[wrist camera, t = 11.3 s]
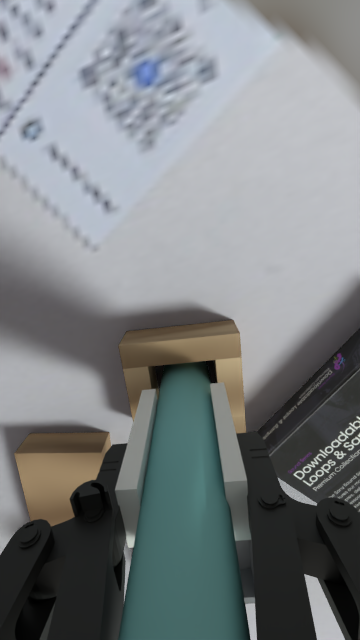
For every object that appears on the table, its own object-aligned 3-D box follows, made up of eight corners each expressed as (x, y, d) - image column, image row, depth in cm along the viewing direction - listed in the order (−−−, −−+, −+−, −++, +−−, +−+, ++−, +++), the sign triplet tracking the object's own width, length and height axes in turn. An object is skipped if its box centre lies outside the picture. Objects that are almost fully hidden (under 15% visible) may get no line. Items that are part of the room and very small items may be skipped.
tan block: (32, 429, 23) (14, 453, 20) (110, 428, 22) (101, 452, 20) (53, 527, 26) (39, 558, 23) (122, 527, 25) (115, 558, 23)
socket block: (126, 331, 20) (118, 345, 17) (233, 320, 19) (239, 333, 17) (143, 421, 22) (137, 445, 19) (239, 412, 21) (246, 436, 19)
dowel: (159, 354, 20) (72, 766, 5) (207, 350, 20) (274, 763, 5) (166, 396, 21) (110, 851, 6) (211, 392, 21) (277, 850, 6)
